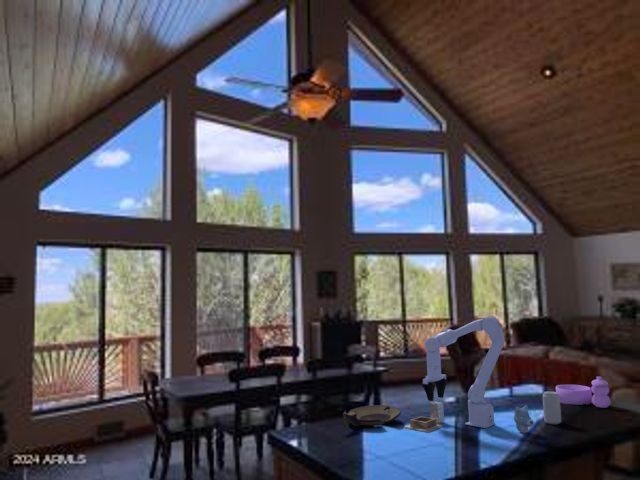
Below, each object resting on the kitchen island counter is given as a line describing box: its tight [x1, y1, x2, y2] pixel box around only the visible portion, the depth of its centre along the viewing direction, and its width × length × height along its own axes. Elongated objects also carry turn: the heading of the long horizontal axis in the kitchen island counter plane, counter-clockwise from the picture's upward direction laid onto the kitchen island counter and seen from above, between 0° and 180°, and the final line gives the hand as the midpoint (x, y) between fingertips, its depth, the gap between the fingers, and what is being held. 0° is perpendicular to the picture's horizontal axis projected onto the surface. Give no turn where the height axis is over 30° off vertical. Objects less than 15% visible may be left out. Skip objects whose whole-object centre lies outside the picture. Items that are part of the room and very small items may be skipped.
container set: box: [555, 376, 611, 408], centre depth 248 cm, size 25×15×13 cm, turn 29°
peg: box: [428, 400, 445, 425], centre depth 222 cm, size 4×4×8 cm
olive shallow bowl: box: [342, 404, 402, 427], centre depth 223 cm, size 22×30×8 cm
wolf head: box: [513, 404, 535, 434], centre depth 202 cm, size 6×9×10 cm
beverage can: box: [542, 391, 562, 425], centre depth 215 cm, size 6×6×12 cm
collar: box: [404, 416, 444, 433], centre depth 215 cm, size 11×11×3 cm
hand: (435, 399), depth 223 cm, fingers open, 7 cm apart
